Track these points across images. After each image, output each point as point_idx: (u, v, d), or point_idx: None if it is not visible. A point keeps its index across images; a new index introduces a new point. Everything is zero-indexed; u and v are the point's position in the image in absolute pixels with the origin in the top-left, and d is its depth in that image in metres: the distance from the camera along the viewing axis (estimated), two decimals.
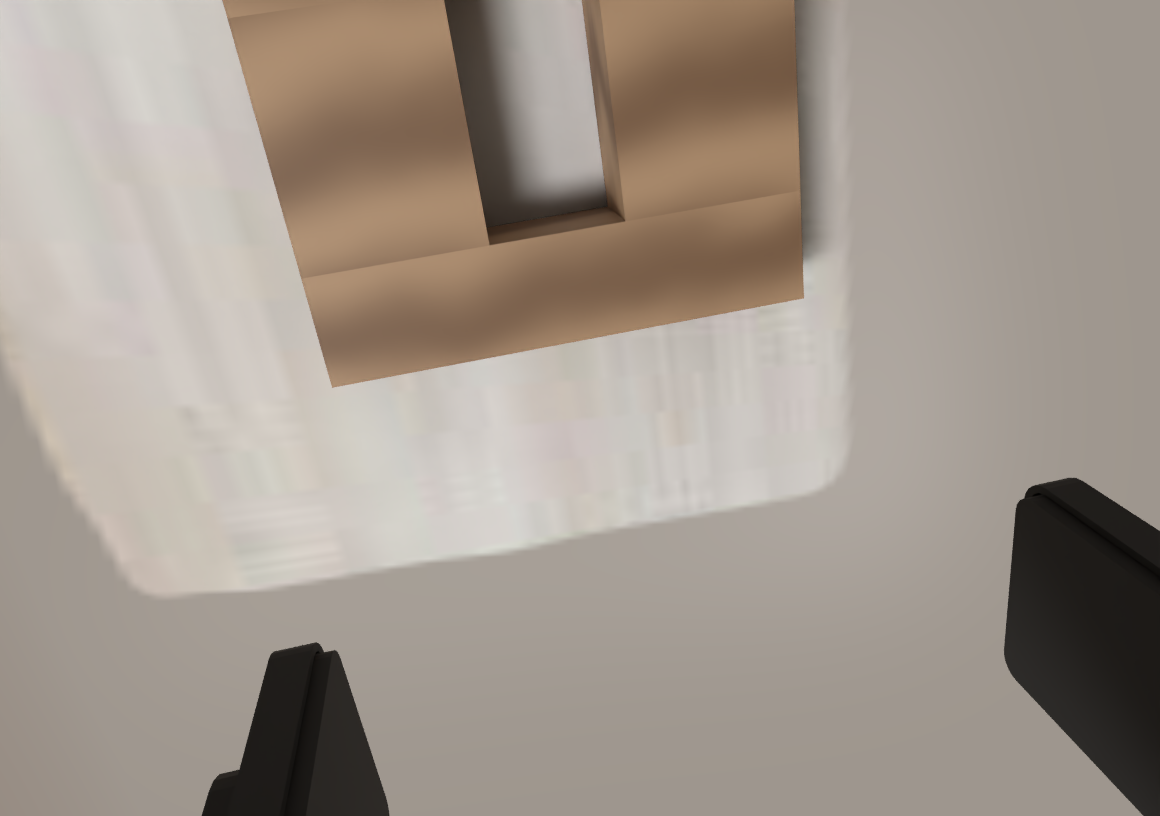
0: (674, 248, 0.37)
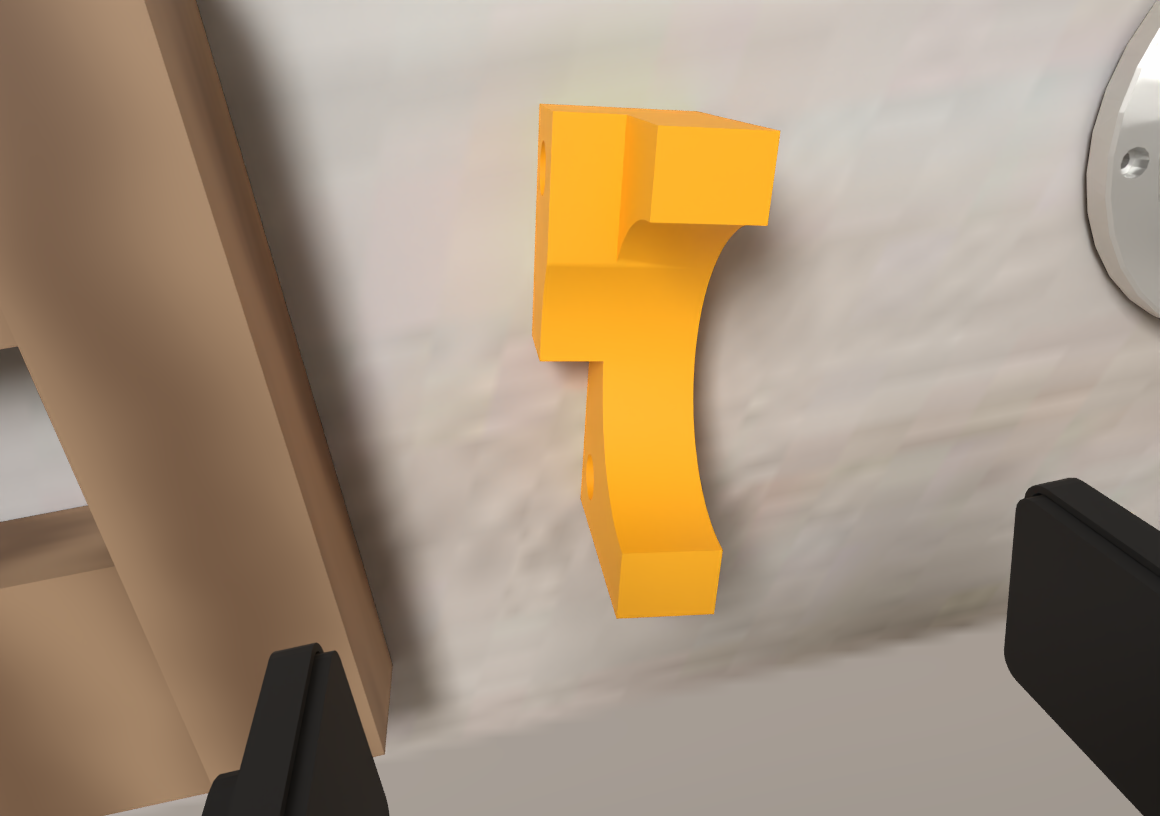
0: None
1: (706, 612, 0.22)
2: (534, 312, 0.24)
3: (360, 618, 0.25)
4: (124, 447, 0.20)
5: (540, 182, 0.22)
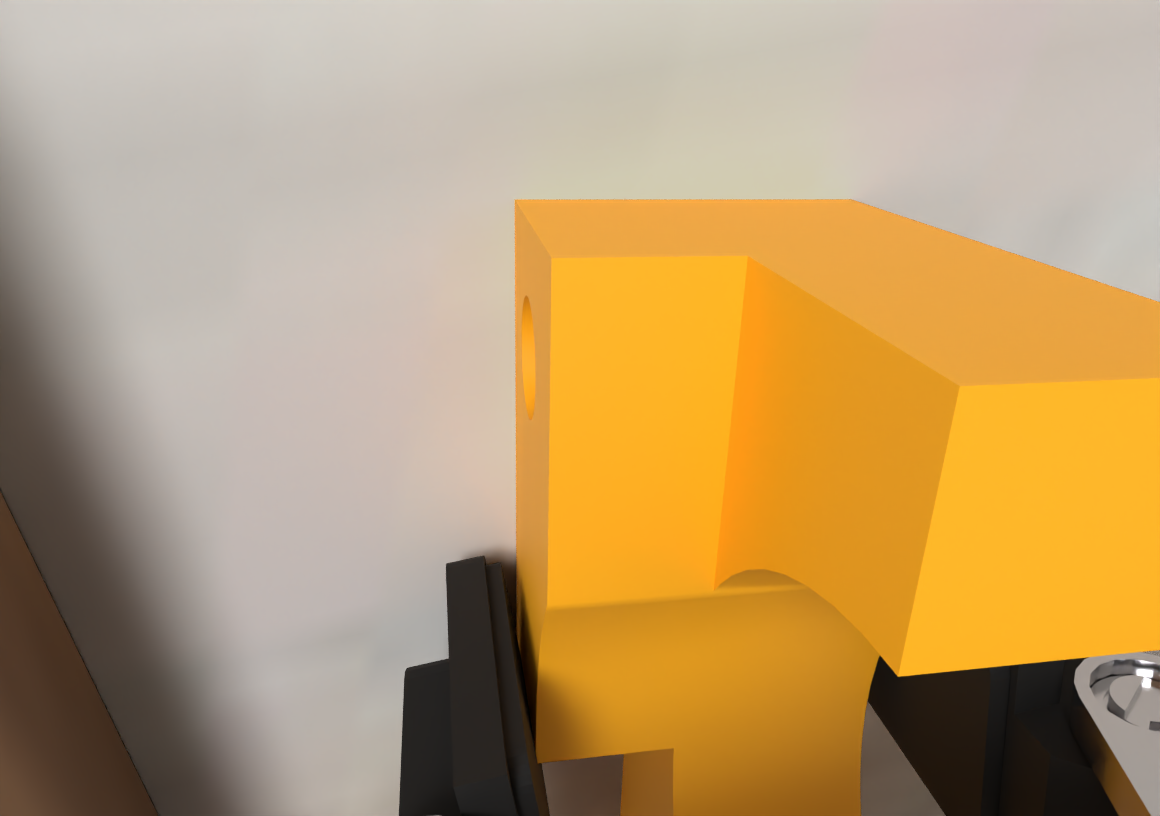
0: None
1: None
2: (520, 618, 0.12)
3: None
4: None
5: (524, 376, 0.10)
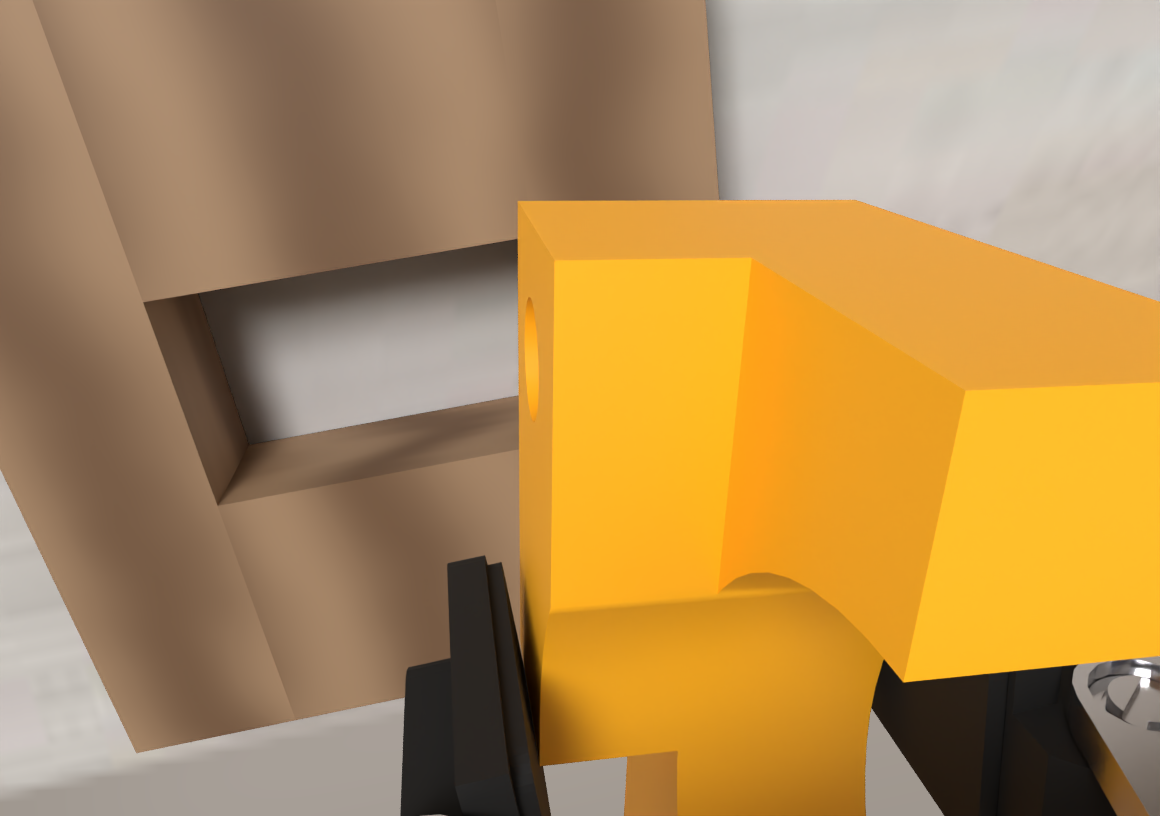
0: (185, 577, 0.24)
1: None
2: (524, 620, 0.12)
3: None
4: None
5: (527, 378, 0.10)
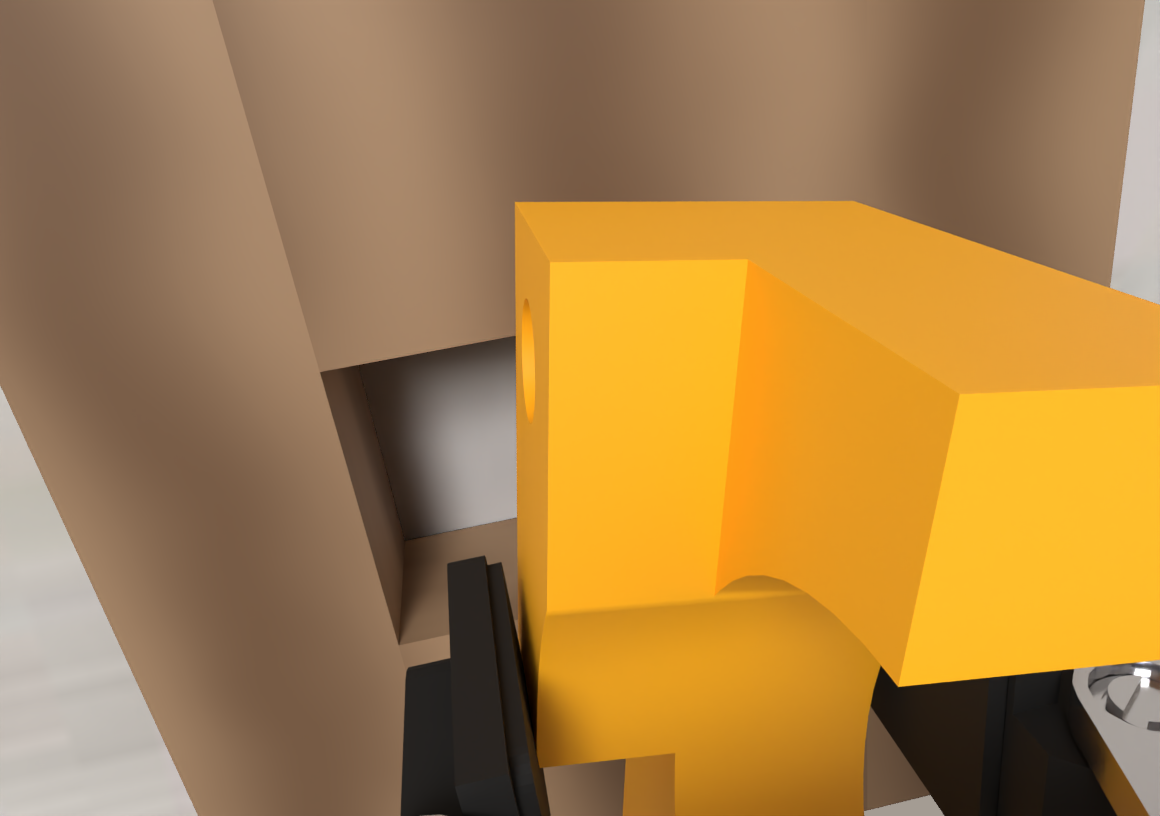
0: (347, 738, 0.18)
1: None
2: (522, 622, 0.12)
3: None
4: None
5: (524, 380, 0.10)
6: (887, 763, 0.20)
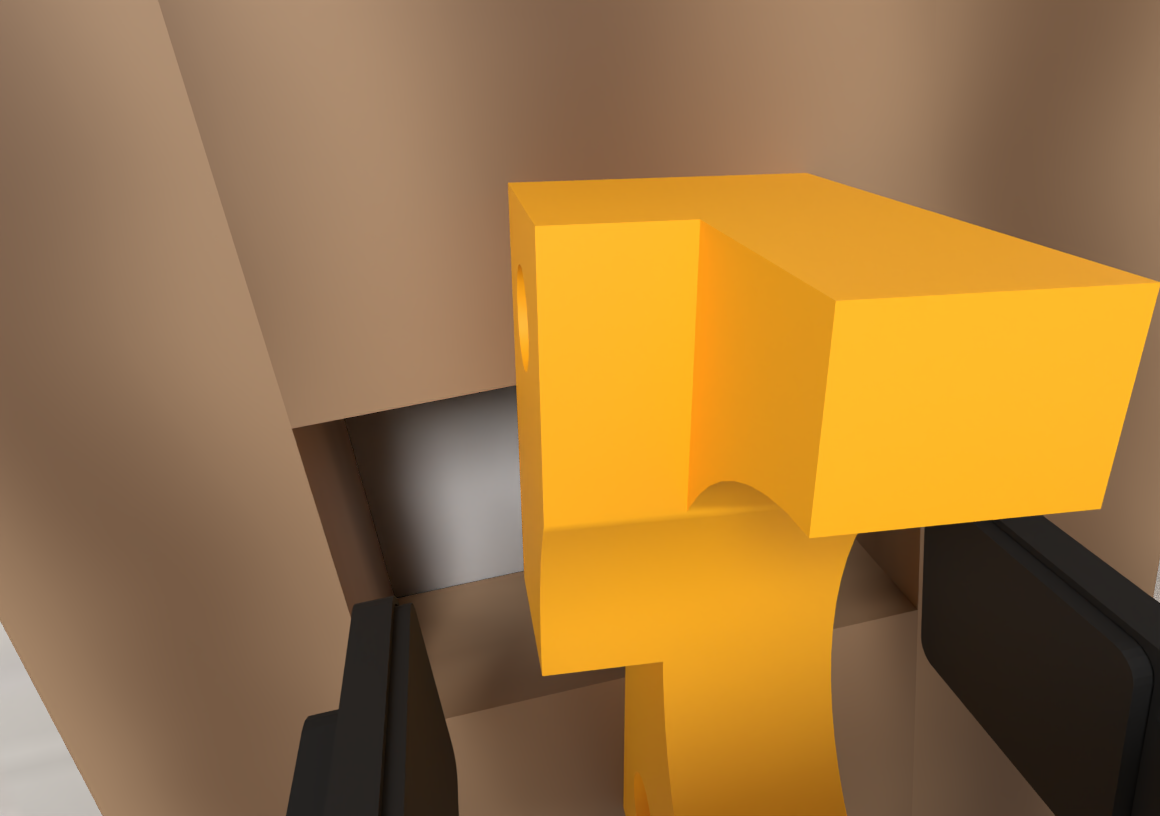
0: None
1: None
2: (526, 556, 0.13)
3: None
4: None
5: (520, 337, 0.11)
6: None
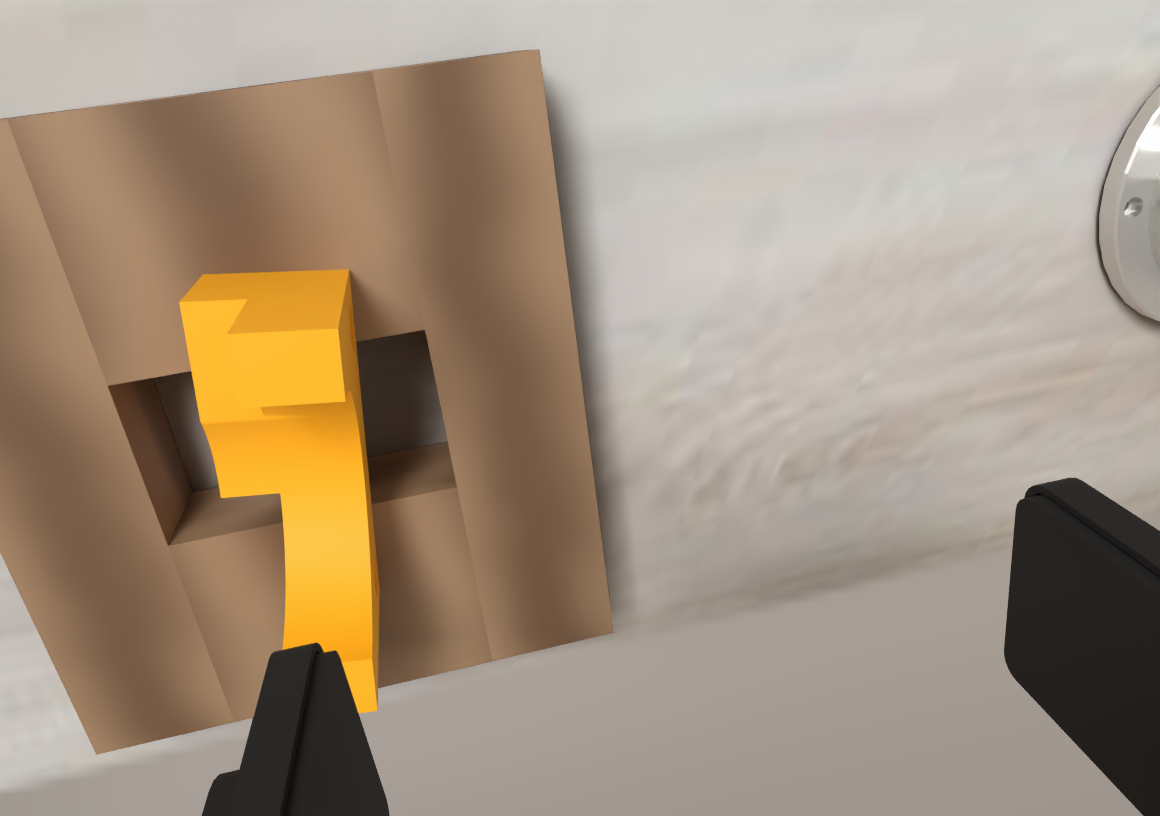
0: (140, 604, 0.29)
1: (370, 710, 0.25)
2: None
3: None
4: (479, 400, 0.29)
5: None
6: (499, 629, 0.33)
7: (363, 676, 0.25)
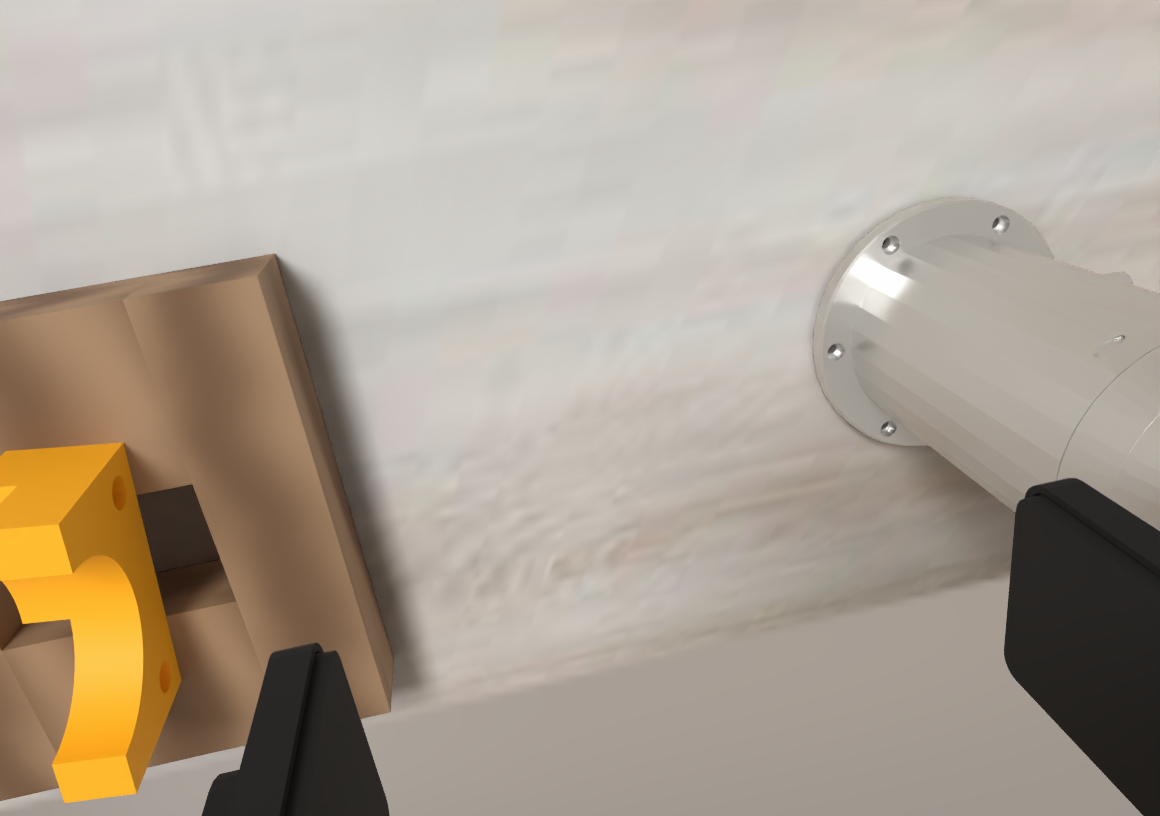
0: None
1: (130, 793, 0.32)
2: None
3: (374, 629, 0.41)
4: (245, 535, 0.36)
5: None
6: None
7: (120, 768, 0.32)
